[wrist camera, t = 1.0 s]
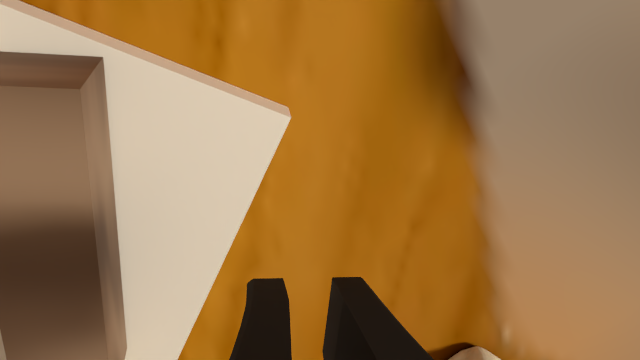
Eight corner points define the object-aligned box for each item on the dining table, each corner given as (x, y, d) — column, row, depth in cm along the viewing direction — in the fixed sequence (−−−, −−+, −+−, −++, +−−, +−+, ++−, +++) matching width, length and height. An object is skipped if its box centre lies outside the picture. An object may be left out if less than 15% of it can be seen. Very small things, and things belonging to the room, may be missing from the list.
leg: (127, 347, 22) (113, 411, 19) (44, 350, 21) (18, 416, 18) (103, 57, 16) (79, 88, 14) (-8, 51, 16) (-54, 83, 13)
